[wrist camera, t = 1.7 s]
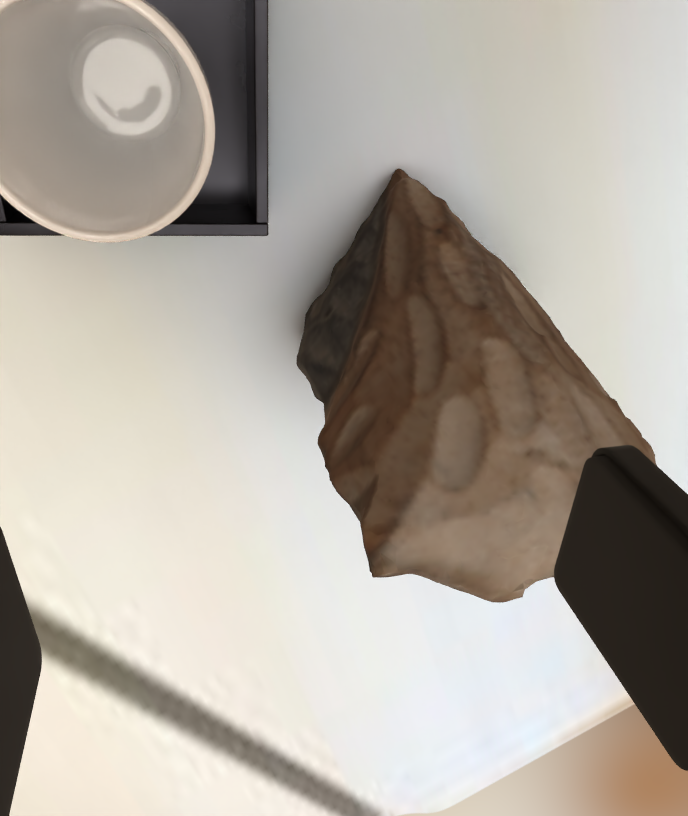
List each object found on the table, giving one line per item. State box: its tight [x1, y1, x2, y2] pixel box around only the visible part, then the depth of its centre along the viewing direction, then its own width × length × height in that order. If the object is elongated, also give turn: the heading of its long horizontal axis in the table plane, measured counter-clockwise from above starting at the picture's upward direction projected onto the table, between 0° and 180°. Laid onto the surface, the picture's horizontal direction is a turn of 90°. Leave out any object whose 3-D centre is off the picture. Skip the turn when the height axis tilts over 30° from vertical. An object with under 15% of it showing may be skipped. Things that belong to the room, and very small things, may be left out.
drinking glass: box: [0, 0, 215, 243], centre depth 23 cm, size 7×7×15 cm
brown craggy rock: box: [297, 169, 657, 602], centre depth 30 cm, size 13×13×20 cm
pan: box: [0, 0, 268, 236], centre depth 28 cm, size 12×12×4 cm
